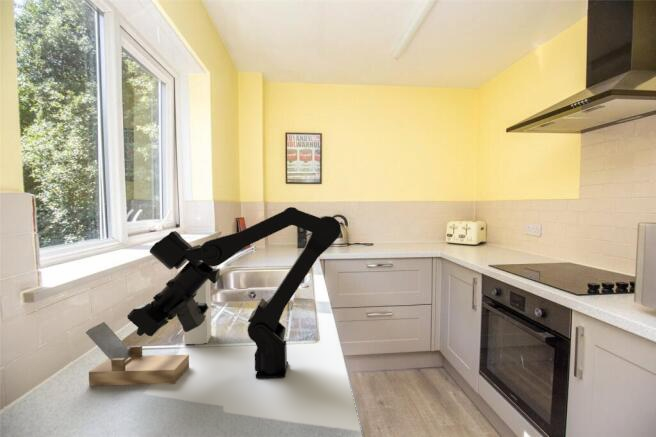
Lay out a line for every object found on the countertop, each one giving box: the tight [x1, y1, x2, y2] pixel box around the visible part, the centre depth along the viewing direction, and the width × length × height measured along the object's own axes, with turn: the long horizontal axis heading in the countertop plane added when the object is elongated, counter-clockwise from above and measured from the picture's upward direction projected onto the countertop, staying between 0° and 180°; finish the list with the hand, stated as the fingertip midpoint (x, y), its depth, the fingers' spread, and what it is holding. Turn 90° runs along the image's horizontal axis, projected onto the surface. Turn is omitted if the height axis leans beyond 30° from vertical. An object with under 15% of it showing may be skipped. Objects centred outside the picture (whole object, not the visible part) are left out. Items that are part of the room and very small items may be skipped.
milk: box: [183, 279, 212, 346], centre depth 88 cm, size 6×6×22 cm
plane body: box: [88, 345, 190, 387], centre depth 69 cm, size 18×7×5 cm, turn 91°
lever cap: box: [85, 321, 133, 361], centre depth 69 cm, size 2×5×10 cm
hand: (139, 334), depth 69 cm, fingers closed
